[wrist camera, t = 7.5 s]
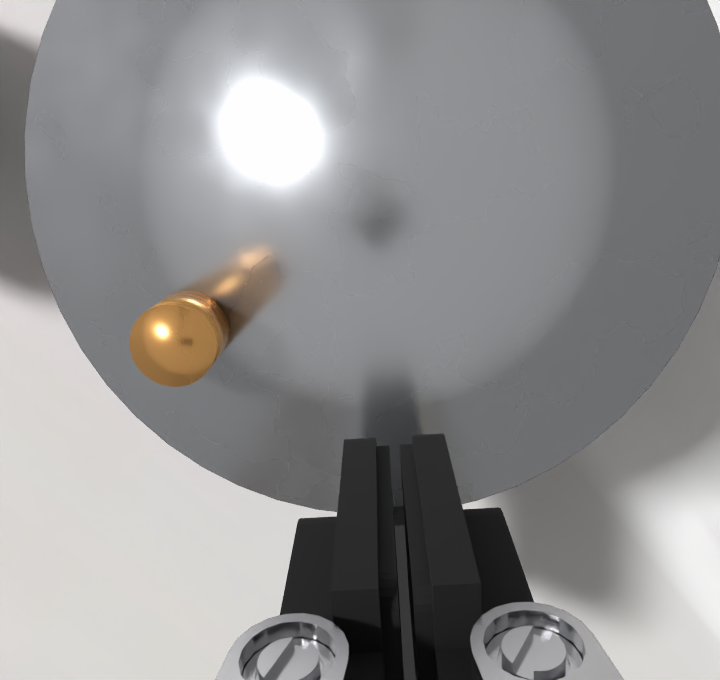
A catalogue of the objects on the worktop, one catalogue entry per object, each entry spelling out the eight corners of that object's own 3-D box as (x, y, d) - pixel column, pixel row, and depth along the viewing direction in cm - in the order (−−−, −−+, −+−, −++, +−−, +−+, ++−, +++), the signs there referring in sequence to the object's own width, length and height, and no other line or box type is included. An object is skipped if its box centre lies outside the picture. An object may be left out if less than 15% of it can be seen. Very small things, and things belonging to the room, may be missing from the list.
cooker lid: (-31, -198, 18) (-112, -269, 15) (745, -272, 18) (824, -362, 14) (132, 647, 25) (99, 715, 22) (685, 621, 25) (730, 687, 22)
